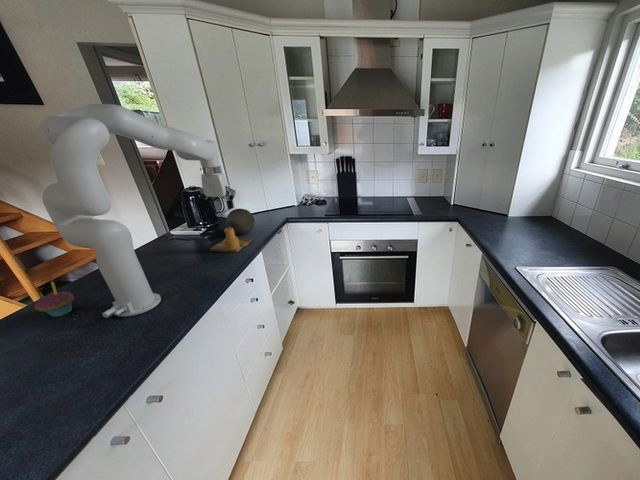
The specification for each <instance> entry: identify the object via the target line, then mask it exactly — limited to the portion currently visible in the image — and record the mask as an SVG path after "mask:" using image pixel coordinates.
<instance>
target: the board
mask: <svg viewBox="0 0 640 480" xmlns="http://www.w3.org/2000/svg"><path fill="white" fill-rule="evenodd" d="M238 240H239V244H240V247H239V248H238V249H234V250H228V249H227V248H226V244H225V240H224V239H223V240H221V241H220V242H218V243H217V244H215V245H213V246H212V247H210V248H209V251H210V252H221V253H238V252H239V251H240V250H242V249H243V248H245V247H247V246H248V245H249V244H251V243H252V239H248V238H247V239H246V238H245V239H244V238H238Z"/></svg>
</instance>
